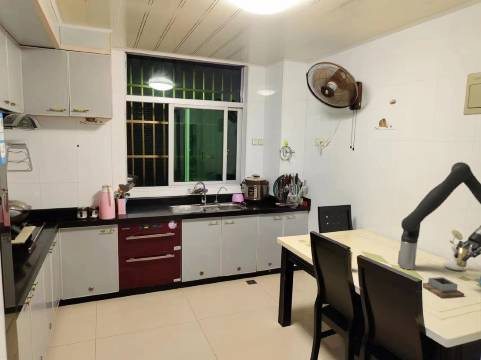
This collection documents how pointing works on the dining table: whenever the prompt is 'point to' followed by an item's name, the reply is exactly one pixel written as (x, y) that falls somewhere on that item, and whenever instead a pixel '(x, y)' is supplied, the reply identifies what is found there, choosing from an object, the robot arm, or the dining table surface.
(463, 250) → the gold dome cylinder
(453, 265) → the flower in vase
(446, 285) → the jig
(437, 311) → the dining table surface
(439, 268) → the dining table surface
